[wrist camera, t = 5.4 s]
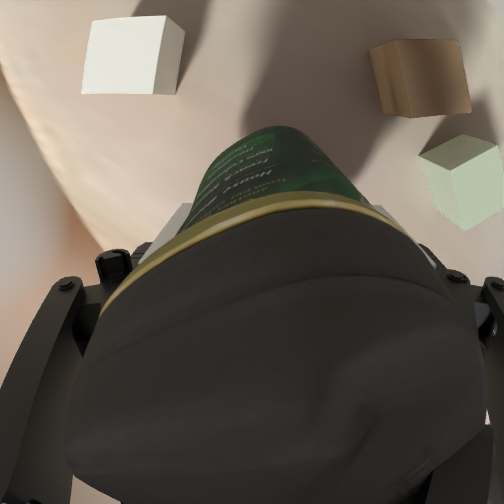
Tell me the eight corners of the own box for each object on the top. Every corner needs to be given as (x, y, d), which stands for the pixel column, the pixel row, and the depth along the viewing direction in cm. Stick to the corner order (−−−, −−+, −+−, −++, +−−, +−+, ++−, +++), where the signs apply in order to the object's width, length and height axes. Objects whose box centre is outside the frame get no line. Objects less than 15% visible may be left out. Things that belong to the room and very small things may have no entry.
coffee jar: (187, 173, 19) (-30, 443, 3) (293, 107, 17) (621, 191, 1) (266, 284, 23) (258, 565, 6) (363, 233, 21) (496, 503, 4)
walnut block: (423, 47, 17) (457, 40, 12) (436, 106, 19) (471, 112, 15) (367, 50, 18) (393, 39, 13) (382, 113, 20) (411, 118, 15)
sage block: (461, 133, 20) (497, 144, 15) (475, 185, 22) (508, 204, 17) (417, 155, 21) (449, 170, 17) (434, 208, 23) (464, 231, 19)
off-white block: (185, 32, 18) (166, 15, 13) (175, 95, 20) (152, 94, 15) (123, 32, 17) (92, 21, 13) (114, 92, 20) (81, 94, 15)
